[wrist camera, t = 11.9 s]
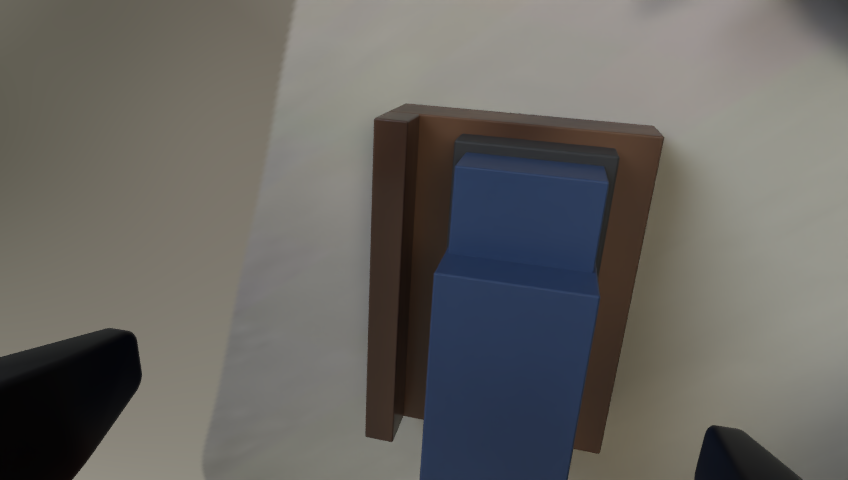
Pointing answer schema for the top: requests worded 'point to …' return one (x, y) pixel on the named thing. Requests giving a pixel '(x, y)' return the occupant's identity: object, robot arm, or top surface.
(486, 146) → the stepped blue riser
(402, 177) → the brown boxy piece
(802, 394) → the top surface
